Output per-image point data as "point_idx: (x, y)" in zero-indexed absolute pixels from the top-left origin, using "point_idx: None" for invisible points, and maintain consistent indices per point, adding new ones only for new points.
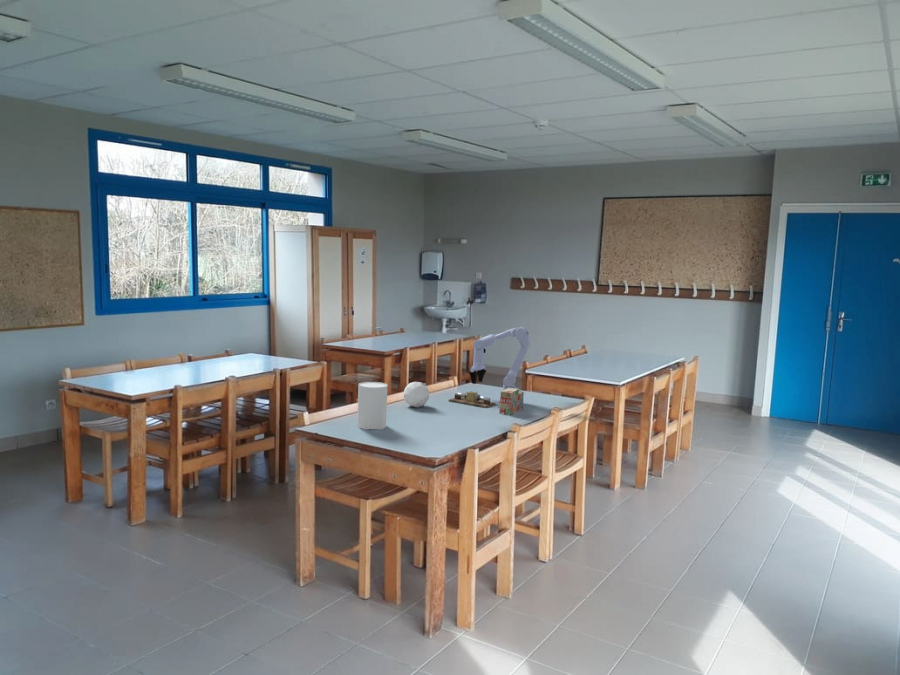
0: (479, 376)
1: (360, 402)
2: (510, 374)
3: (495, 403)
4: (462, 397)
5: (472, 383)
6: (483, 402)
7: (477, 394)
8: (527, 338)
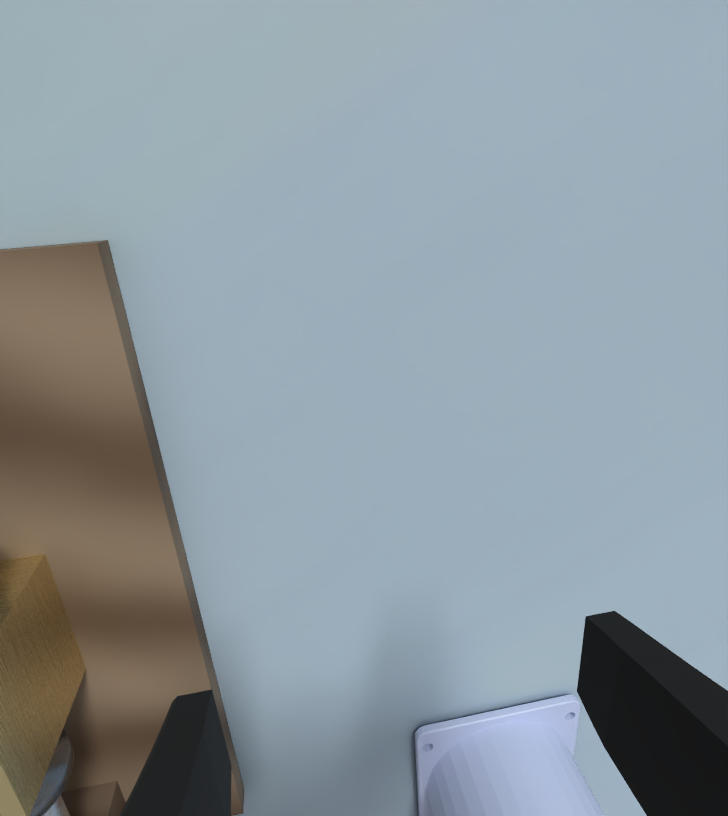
0: (719, 801)
1: None
2: None
3: (237, 805)
4: (75, 357)
5: (173, 712)
6: (106, 749)
7: (38, 779)
8: None
